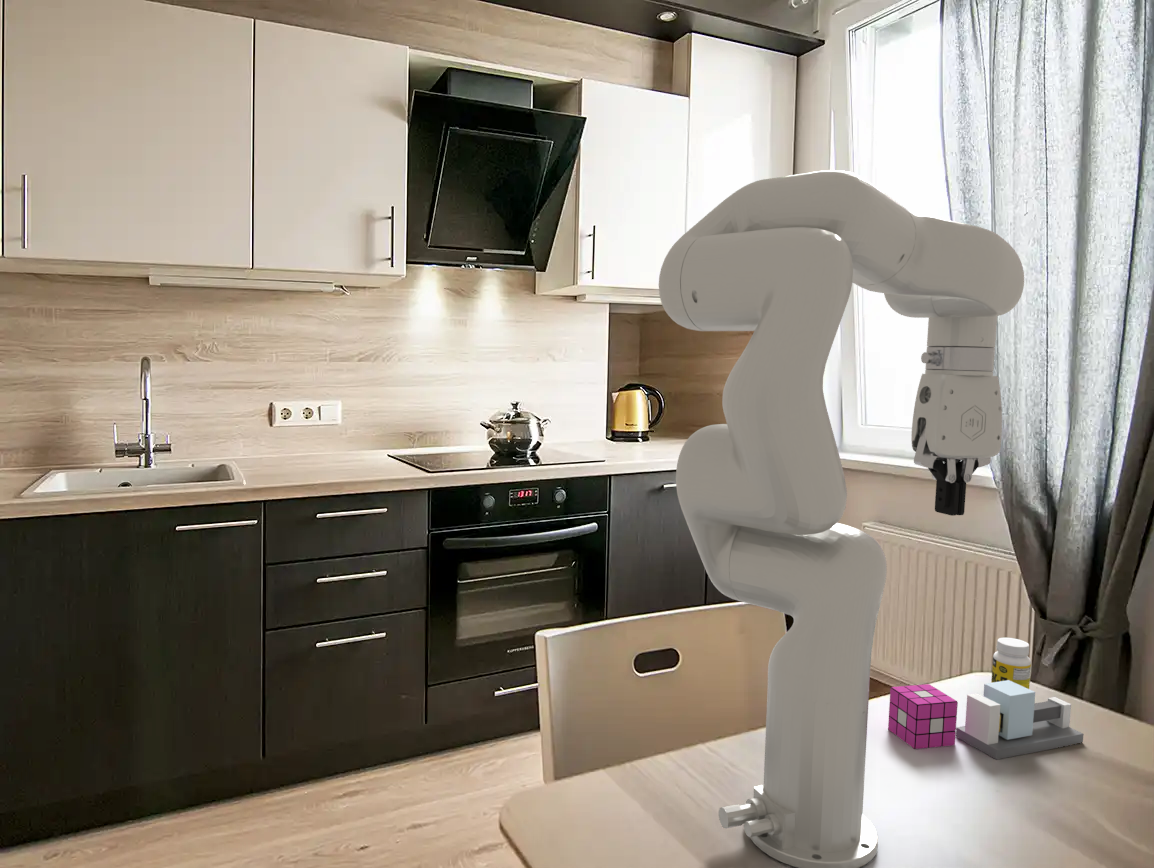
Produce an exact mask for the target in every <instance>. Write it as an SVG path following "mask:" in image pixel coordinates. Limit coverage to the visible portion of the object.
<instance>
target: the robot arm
mask: <svg viewBox="0 0 1154 868" xmlns="http://www.w3.org/2000/svg"><path fill="white" fill-rule="evenodd" d="M853 284H854V285H856V286H858V287H860V288H862V289H864V290H866V291H870V292H875V293H879V294H884V298H885V301H886V303H887V304H888V305H889V307H890V308H891V309H892V310H893V311H894V312H895V313H896V314H899V315H900V316H904V317H907V318H917V319H919V318H921V319H922V318H925V319H926V318H928V321H927V322H928V323H927V325H928V326H927V340H926V351H925V352H922V354H921V356H920V360H921V363H923V364H925V368H924V369H925V370H924V371H925V372H924V373H922V374H921V375H920V379H919V380H920V381H919V384H918V387H917V391H916V397H915V401H914V407H913V414H912V425H911V441H910V442H911V448H912V450H913V451H914V452H915V453H914V458H913V463H914V465H916V466H920V467H923V468H927V469H928V471H930V473H931V476H932V477H931V478H932V480H934V481H936V484H935V496H934V497H935V498H934V499H935V500H934V511H935V512H936V513H940V514H943V515H947V516H964V515H965V507H966V493H967V492H966V491H967V483H970V482H971V481H972V478H973V474H974V473H975V472H976V470H977V469H978V468H982V467H984V466H985V467H986V466H988V465H990V464H991V461H992V457H995V456H998V455H999V453H1000V451H1001V447H1002V435H1003V430H1002V429H1003V428H1002V425H1003V424H1002V423H1003V420H1002V419H1003V414H1002V413H1003V409H1002V407H1003V405H1002V395H1001V387H1000V385H1001V384H1000V380H999V377H998V375H994V368H995V367H994V365H995V353H996V349H995V348H996V338H997V327H998V326H997V324H998V316H1003V315H1006V314H1008V313H1009V312H1011V310H1013V309H1014V308H1015V307H1016V306H1017V304H1018V303H1019V301H1020V300H1021V297H1022V294H1023V291H1024V288H1025V271H1024V267H1023V264H1022V260H1021V258H1020V256H1019V254H1018V252H1017V251H1016V250H1015V249H1014V247H1012V246H1011V244H1010V243H1009V242H1007V241H1006V240H1005V239H1004V238H1003V237H1002V236H1000V235H999V234H998V233H996V232H994V231H992V230H989V229H987V228H984V227H980V226H977V225H972V224H969V223H963V222H959V221H954V220H950V219H944V218H942V217H941V218H940V217H938V216H932V215H928V214H923V213H916V212H912V211H909V210H908V209H907V208H905V207H904V206H903V205H901V204H900V203H898V202H896V200H894V199H893V198H892V197H890V196H889V195H888V194H886V193H885V192H883V191H882V190H881V189H880V188H878V187H877V186H875V185H874V184H873V183H871V182H870V181H868V180H867V179H866V178H864V177H862V176H861V175H860V174H859V175H858V174H856V173H854V172H851V171H845V170H835V169H832V170H831V169H828V170H819V171H811V172H806V173H799V174H798V173H797V174H792V175H790V174H789V175H785V176H780V177H777V176H776V177H771V178H763V179H759V180H756V181H752V182H750V183H748V184H746V185H744V186H743V187H741V188H739V189H738V190H736V191H734V192H733V193H731V195H729V196H728V197H726V198H725V199H724V200H723V201H721V202H720V203H719V204H717V205H716V206H715V207H714V208H713V209H712V210H711V211H709V212H708V213H707V214H706V215H705V216H704V217H702V218H701V219H700V220H699V221H698V222H697V223H695V225H693V226H692V227H691V228H689V229H688V230H687V231H686V232H685V233H684V234H682V235H681V236H680V238H679V239H678V240H676V242H675V243H674V244H672V246H671V248H670V249H669V251H668V252H667V254H666V256H665V258H664V260H663V261H662V265H661V268H660V272H659V277H658V294H659V298H660V302H661V306H662V307H663V309H664V311H665V313H666V314H667V316H668V317H670V319H671V320H672V321H673V322H675V323H676V324H677V325H679V326H680V327H683V328H685V329H687V330H692V331H698V332H753V333H752V334H751V336H750V339H749V341H748V343H747V344H746V346H745V348H744V350H743V351H742V353H741V354H740V356H739V357H738V359H737V361H735V363H734V365H733V367H732V368H731V371H730V372H729V374H728V377H727V378H726V381H725V384H724V387H723V389H722V390H723V391H722V398H721V399H722V400H721V401H722V404H721V405H722V409H723V410H722V411H723V414H724V415H723V416H724V418H725V421H726V423H720V424H719V423H718V424H710V425H707V426H704V427H701V428H699V429H698V430H696V431H695V432H693V433H692V434H690V435H689V437H688V438H687V439H686V441H685V442H684V444H683V446H682V448H681V449H680V452H679V455H678V459H677V463H676V471H675V472H676V474H675V484H676V485H675V486H676V495H677V499H678V503H679V506H680V509H681V511H682V514H683V517H684V519H685V522H686V524H687V527H688V529H689V532H690V535H691V537H692V540H693V542H694V544H695V547H696V549H697V552H698V555H699V557H700V559H701V562H702V564H703V567H704V569H705V571H706V574H707V575H708V579H710V581H711V583H712V584H713V586H714V587H715V589H717V590H718V592H720V593H721V594H723V595H724V596H725V597H728V598H729V599H732V600H735V601H739V602H742V603H745V604H748V605H753V606H757V607H761V608H764V609H769V610H772V611H777V612H779V613H782V614H784V615H788V616H791V617H792V618H793V623H792V625H791V627H790V628H789V629H788V630H787V632H786V633H784V635H782V637H781V638H779V640H778V641H777V642H776V644H775V645H774V647H773V649H772V651H771V652H770V655H769V660H768V666H767V695H766V717H765V740H764V741H765V743H764V744H765V745H764V760H763V761H764V768H763V784H760V785H757V786H753V797H752V798H748V799H747V800H745V803H740V804H731V805H726V806H721V807H719V809H718V820H719V823H720V825H721V827H723V829H729V828H736V827H739V826H743V829H744V833H745V834H746V836H747V837H748V838H749V839H750V840H751V841H752V843H753V844H754V845H755V846H756V847H758V849H760V850H761V851H762V852H763V853H765V854H766V855H768V856H769V857H771V858H773V859H774V860H776V861H779V862H781V863H783V864H786V865H789V866H792V867H794V868H861V867H863V866H865V865H867V864H868V863H869V862H871V861H872V860H873V859H874V857H875V856H876V855H877V853H878V847H879V844H878V843H879V835H878V832H877V829H876V828H875V826H874V825H873V822H871V820H869V819H868V818H867V817H866V816H865V815H864V814H863V811H864V810H863V809H864V794H865V793H864V792H865V791H864V790H865V773H866V758H867V757H866V755H867V754H866V753H867V740H868V739H867V738H868V737H867V736H868V720H869V719H868V717H869V701H870V699H869V698H870V678H871V677H870V676H871V663H872V652H873V651H872V650H873V643H874V636H875V630H876V624H877V620H878V616H879V612H880V607H881V602H882V599H883V595H884V592H885V591H884V590H885V586H886V580H887V573H888V571H887V570H888V569H887V567H888V566H887V565H888V564H887V558H886V555H885V552H884V550H883V548H882V546H881V545H880V543H879V542H878V540H876V539H875V538H874V537H873V536H872V535H870V534H868V533H866V532H865V531H863V530H861V529H859V528H857V527H853V526H850V525H848V524H844V523H839V522H840V521H841V519H842V518H843V516H844V513H845V510H846V508H847V507H846V506H847V498H848V491H847V483H846V477H845V474H844V473H845V472H844V469H843V465H842V464H843V463H842V461H841V456H840V453H839V448H838V446H837V441H836V439H835V434H834V432H833V431H834V430H833V427H832V423H831V419H830V415H829V413H828V408H827V404H826V399H825V395H824V394H825V393H824V374H825V371H826V370H825V369H826V365H827V361H828V360H829V359H828V358H829V356H830V353H831V349H832V347H833V344H834V341H835V338H836V335H837V332H838V329H839V327H840V324H841V321H842V319H843V316H844V313H845V311H846V307H847V305H848V302H849V298H850V296H851V291H852V286H853Z"/></svg>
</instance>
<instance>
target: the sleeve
mask: <svg viewBox="0 0 1154 868" xmlns="http://www.w3.org/2000/svg"><path fill="white" fill-rule="evenodd" d="M983 696H984V697H986V698H988V699H990V700H992V701H994V702H996V703H998V704H1000V713H1002V714H1004V715H1003V728H1000V732H999V734H998V735H999V736H1001V737H1003V738H1005V739H1007V740H1009V739H1014V738H1020V737H1025V736H1031V735H1032V731H1033V718H1034V704H1035V703H1036V691H1034V690H1032V689H1030V688H1029V689H1027V688H1025V687H1023V686H1021V685H1019V684H1016V683H1014V682H1012V681H1010V680H1006V681H1000V682H993V683H991V682H988V683H984V686H983Z"/></svg>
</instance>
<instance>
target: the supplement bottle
mask: <svg viewBox="0 0 1154 868" xmlns="http://www.w3.org/2000/svg"><path fill="white" fill-rule="evenodd" d="M995 646H996V651H995V652H994V653H993V654H992V655H993V656H992V666H991V682H990V683H993V682H1000V681H1006V680H1010V681H1012V682H1014V683H1016V684H1019V685H1021V686H1023V687H1025V688H1027V689H1030V683H1031V682H1030V681H1031V672H1032V671H1031V668H1032V660H1031V658H1030V657H1029V655H1030V644H1029V642H1027V641H1025V640H1022V639H1019V638H1014V637H999V638H998V639H997V641H996V645H995Z"/></svg>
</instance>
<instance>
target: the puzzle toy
mask: <svg viewBox="0 0 1154 868" xmlns="http://www.w3.org/2000/svg"><path fill="white" fill-rule="evenodd" d="M889 691H890V692H889V704H888V705H889V707H888V726H887V727H888V728H887V730H888V731H889V732H890V733H892V734H893V735H895V737H897V738H899V739H900V740H901V741H903V742H904V743H906V744H907V745H908V746H909V747H911V748H912V749H914V750H922V749H929V748H930V749H932V748H941V747H949V746H950V747H951V746H952V747H953V746H955V745H956V727H957V720H958V719H957V715H958V700H956V699H954V698H953V697H951V696H949V695H948V694H946V693H944V692H943V691H941V690H940V689H938V688H936V687H935V686H933V685H931V684H929V683H926V684H925V683H924V684H914V685H913V684H911V685H901V686H900V685H899V686H890V690H889Z"/></svg>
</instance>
